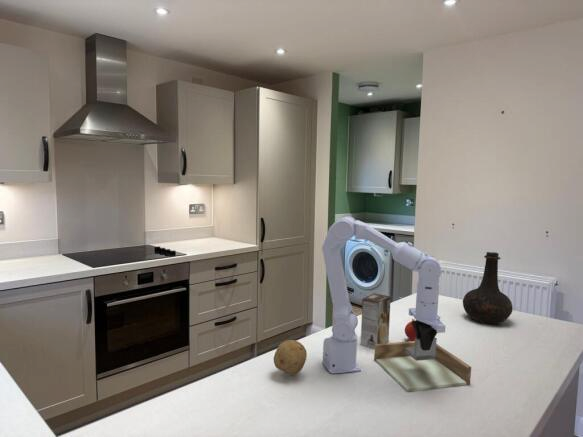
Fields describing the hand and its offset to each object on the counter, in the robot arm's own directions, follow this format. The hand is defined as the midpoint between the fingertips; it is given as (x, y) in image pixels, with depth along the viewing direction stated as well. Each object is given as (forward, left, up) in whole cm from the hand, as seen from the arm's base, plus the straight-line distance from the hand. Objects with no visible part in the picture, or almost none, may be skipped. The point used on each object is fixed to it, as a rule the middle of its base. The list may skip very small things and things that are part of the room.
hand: (424, 348), depth 111 cm
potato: (-36, +9, -9) cm, 38 cm away
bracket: (0, +2, -3) cm, 4 cm away
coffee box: (-2, +25, -9) cm, 27 cm away
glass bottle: (+54, +38, -9) cm, 67 cm away
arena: (+1, +3, -9) cm, 9 cm away
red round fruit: (+12, +24, -9) cm, 29 cm away
